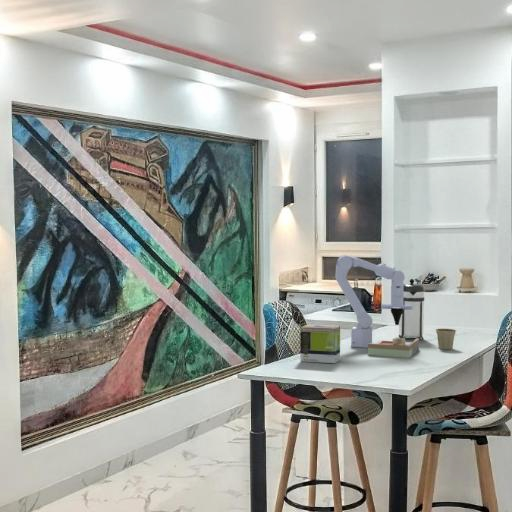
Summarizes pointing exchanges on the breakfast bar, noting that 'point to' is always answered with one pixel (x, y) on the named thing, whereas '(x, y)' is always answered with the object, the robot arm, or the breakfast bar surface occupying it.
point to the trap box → (393, 349)
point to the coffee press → (412, 311)
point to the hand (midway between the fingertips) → (397, 324)
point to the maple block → (399, 341)
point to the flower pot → (445, 338)
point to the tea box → (320, 343)
